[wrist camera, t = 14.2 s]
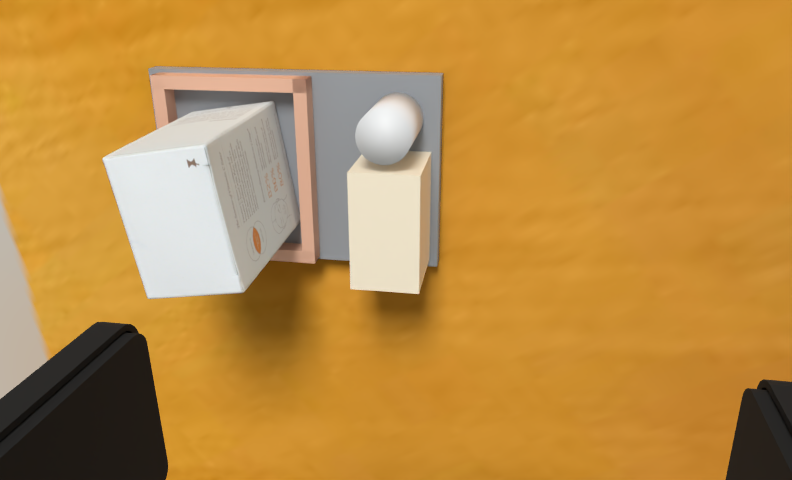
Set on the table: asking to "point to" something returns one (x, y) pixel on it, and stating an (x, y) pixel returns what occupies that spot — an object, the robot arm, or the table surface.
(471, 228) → the table surface
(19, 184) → the table surface
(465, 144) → the table surface
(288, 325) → the table surface
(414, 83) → the assembly board
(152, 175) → the small box
